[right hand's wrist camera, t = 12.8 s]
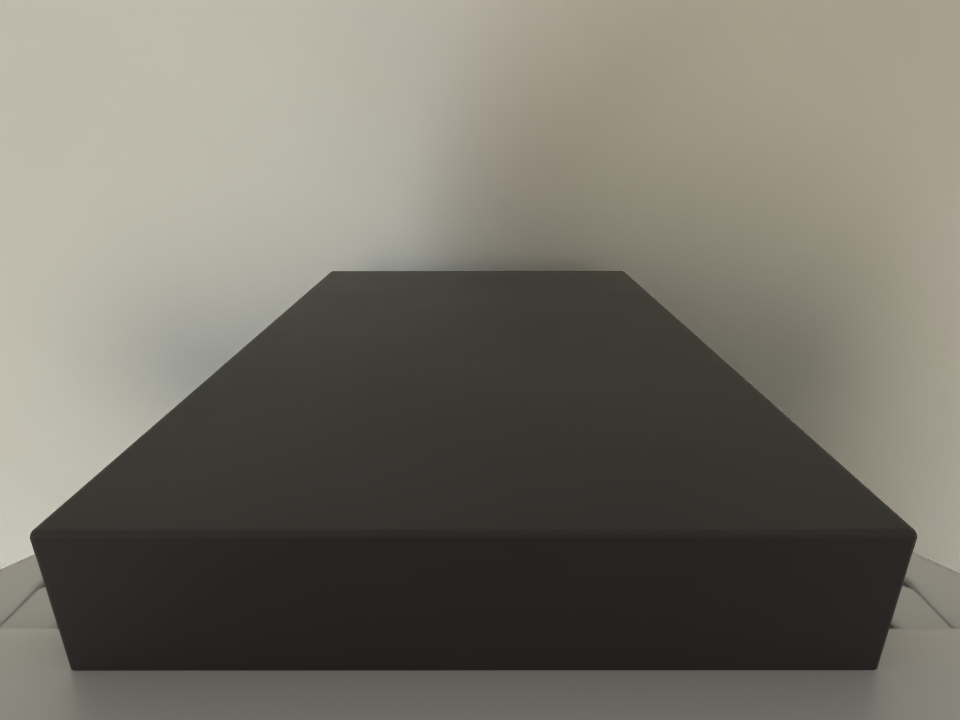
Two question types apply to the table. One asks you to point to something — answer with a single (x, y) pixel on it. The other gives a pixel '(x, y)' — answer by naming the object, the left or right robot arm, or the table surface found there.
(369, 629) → the box
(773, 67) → the table surface
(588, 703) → the right robot arm
